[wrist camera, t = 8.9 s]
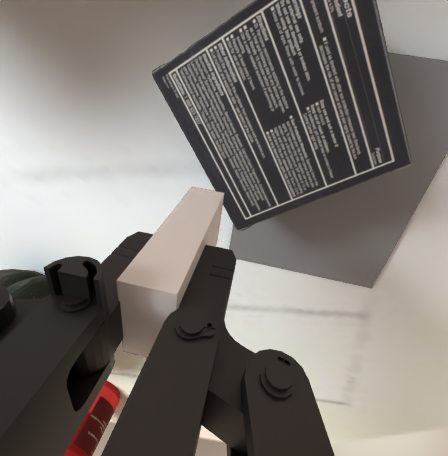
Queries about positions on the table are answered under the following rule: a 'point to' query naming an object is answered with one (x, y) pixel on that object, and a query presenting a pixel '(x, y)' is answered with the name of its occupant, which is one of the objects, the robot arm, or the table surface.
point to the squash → (25, 284)
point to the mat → (362, 195)
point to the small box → (288, 104)
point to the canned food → (95, 422)
